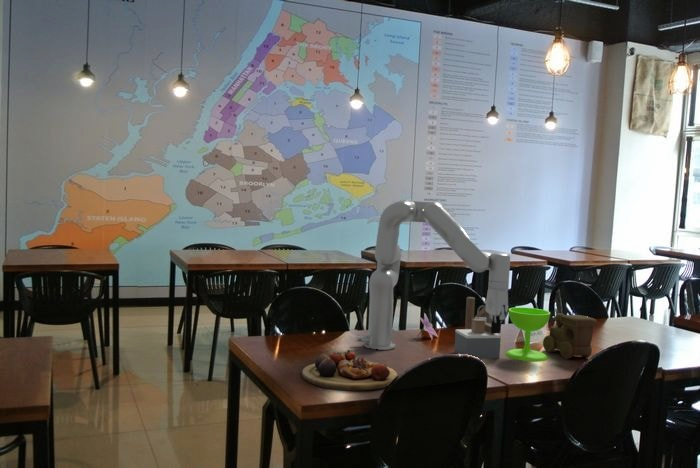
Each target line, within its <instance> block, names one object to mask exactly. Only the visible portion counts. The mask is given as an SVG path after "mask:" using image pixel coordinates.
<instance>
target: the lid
mask: <svg viewBox="0 0 700 468" xmlns="http://www.w3.org/2000/svg"><path fill="white" fill-rule="evenodd" d="M484 329H485V320H483V319H472V329H465V328H463V329H461V328H460V329H455V332H456V333H458V334H460V335H462V336H464V337H465V338H501V336H502V334H497V333H489V332H487V331H485V330H484Z"/></svg>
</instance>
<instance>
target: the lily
mask: <svg viewBox="0 0 700 468" xmlns="http://www.w3.org/2000/svg"><path fill="white" fill-rule="evenodd" d="M423 316H424V317H423V318H422V317H419V316H418V317H419V319H420V321H421V322H422V324H423V329H422V330H421V331H420V332H419V333H418V335H417V337H419V336H420V335H421V333H422V332H423V331H425V332H427V333H428V334H429V336H430V338H431V340H433V336H436V337H437V338H439V336H438V334H437V332H436V330H435V329H434V327H433V324H432V323H431V322H430V321H429V318H428V316H427V314H426V313H425V312H424V315H423Z"/></svg>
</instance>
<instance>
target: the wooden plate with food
mask: <svg viewBox="0 0 700 468" xmlns="http://www.w3.org/2000/svg"><path fill="white" fill-rule="evenodd" d="M356 357H357V356H356V353H355V352H354V351H352V350H351V351H350V350H347V351H344V353H341V352H335V351H334V352H333V353H331V354H329V355H327V354H326V353H322V354H320V355H318V357H317V358H316V359H315V361H314V362H315V363H311V364H309V365H306V366H305V367H304V368H303V369H302V371H301V376H302V379H303V380H304V381H306V380H307V381H308V382H307V381H306V382H307V383H309V382H311V383H313V384H312V385H314V384H316V385H315V386H317V385H319V386H318V387H320V386H322V387H321V388H325V387H326V389H330V388H333V389H332V390H339V389H342V391H369V390H370V391H371V390H379V389H383V388H387V387H386V386H387V385H388V384H389V383H390V382H391V381H392V380H393V379H394V378H395V377H396V376H398V373H397V372H396V370H394V369H393V368H391V367H388V365H387V364H383V363H378V362H373V361H372V362H371V361H369V360H365V358H364V357H360V356H359V357H357V358H356ZM398 377H399V376H398ZM311 383H310V384H311Z"/></svg>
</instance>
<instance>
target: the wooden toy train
mask: <svg viewBox="0 0 700 468" xmlns="http://www.w3.org/2000/svg"><path fill="white" fill-rule="evenodd" d="M554 320H555V323H556V325H553V326H550V328H549V334H548V335H546V336H544V337H543V340H542V346H543V349H544V350H545V352H547V353H553V352H555V350H558V351H559V353H560V355H561V357H562V358H563V359H565V360H570V359H571V358H573V356H575V357H582V358H584V359H588V358H589V357H590V356H592V351H593V350H592V345H591V344H592V340H593V333H594V327H597V323H598V321H597V319H595V318H593V317H589V316H586V315H581V314H566V315H565V314H564V313H559V312H558V313H556V315H555V316H554Z"/></svg>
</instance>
